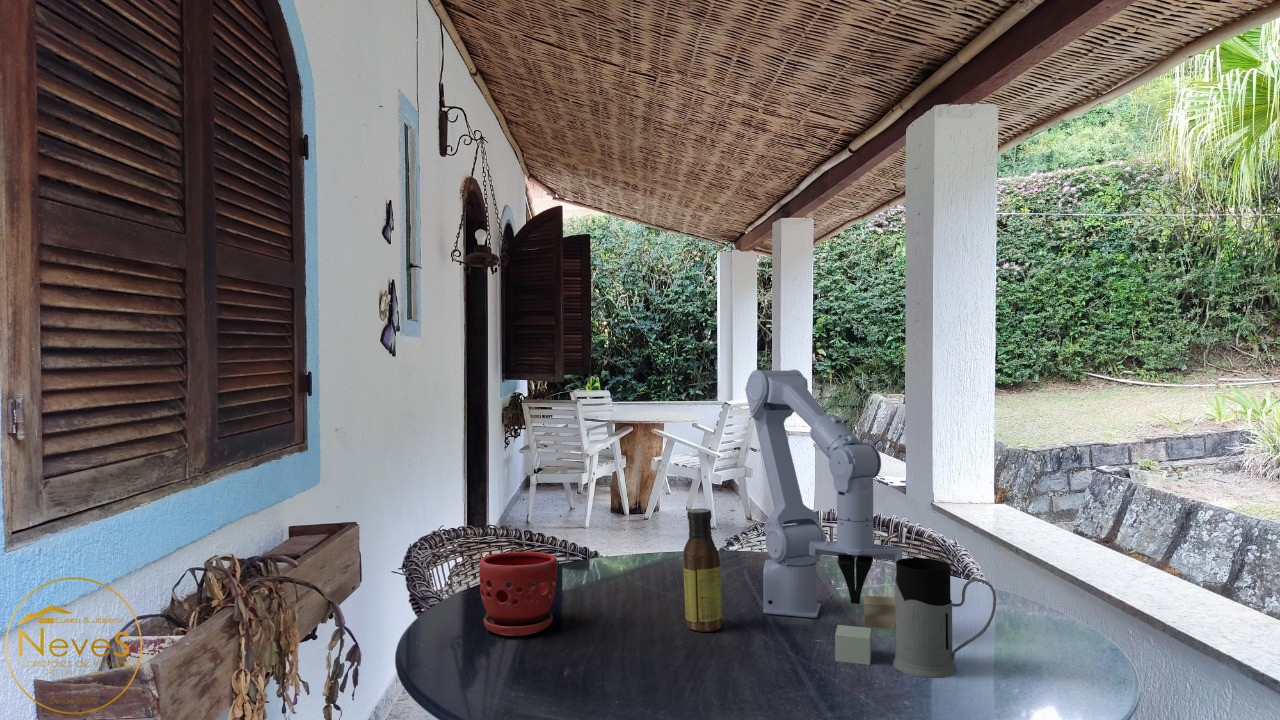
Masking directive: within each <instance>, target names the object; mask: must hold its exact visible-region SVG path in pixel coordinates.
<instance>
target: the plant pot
mask: <svg viewBox="0 0 1280 720" xmlns="http://www.w3.org/2000/svg"><path fill="white" fill-rule="evenodd" d="M478 567H479V569H478V570H479V573H478V575H479V591H480V596H481V601H482V604H483V607H484V609H485V612H486V613H487V615H484V616H485V617H484V618H483V624H484V626H485V627H486V629H487V630H489V631H490V632H492V633H493V634H497V635H500V636H507V637H520V638H521V637H525V636H528V635H533V634H536V633H539V632H542V631H543V630H546V629H547V628H548V627H549V626H550V625H551V624H552V621H553V618H554V617H553V616H554V615H553V614H552V613H551V611H550V609H551V607H552V605H553V602H554V598H555V594H556V589H557V588H556V587H557V579H558V559H557V557H556V556H555V555H553V554H550V553H546V552H537V551H511V552H501V553H497V554H491V555H487V556H484V557H482V558H481V559H480V560H479V565H478ZM531 582H534V586H532V585H531ZM507 583H510V584H511V585H510V586H509V587H508V586H507Z"/></svg>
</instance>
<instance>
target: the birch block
mask: <svg viewBox="0 0 1280 720" xmlns="http://www.w3.org/2000/svg"><path fill="white" fill-rule="evenodd" d="M863 602H864V603H863V605H864V607H863V608H864V609H863V610H864V611H863V612H864V627H865V628H879V629H890V630H896V629H895V622H896V613H895V597H889V596H874V595H864V601H863Z"/></svg>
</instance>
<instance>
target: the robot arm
mask: <svg viewBox="0 0 1280 720" xmlns="http://www.w3.org/2000/svg"><path fill="white" fill-rule="evenodd" d="M808 387H809V386H808V379H807V378H806V377H805V376H804V375H803V373H802V372H801V371H800V370H798V369H790V370H788V369H787V370H761V369H756V370H752V372H751V373H750V374H749V376H748V378H747V381H746V385H745V387H744V389H745V391H744V392H745V395H746V399H747V404H748V408H749V412H750V416H751V417H752V419H753V420H754V425H755V430H756V434H757V438H758V442H759V447H760V451H761V457H762V460H763V464H764V469H765V473H766V478H767V481H768V486H769V490H770V496H771V498H772V504H773V507H774V510H773V512H772V513H771V514H770V515H769V516H768V517H767V519H766V520H765V522H764V528H765V547H766V551H767V554H768V555H769V557H770V558H771V559H765V561H764V565H763V577H762V579H763V580H762V584H763V586H762V587H763V589H762V590H763V591H762V592H763V596H762V597H763V606H762V607H763V610H762V613H763V614H766V615H767V614H768V615H778V616H787V617H788V616H789V617H790V616H791V617H800V618H812V619H813V618H814V619H815V618H818V616H819V612H820V609H821V608H822V607H821V606H822V605H821V602H820V603H819V602H817V599H818V598H817V597H818V593H817V592H818V591H817V586H818V585H817V584H818V583H817V562H820V561H821V556H828V557H837V564H838V567H839V569H840V571H841V573H842V575H843V578H844V580H845V583H846V586H847V590H848V593H849V599H850V604H853V605H860V604H861V595H862V591H863V587H864V584H865V581H866V579H867V576H868V574H869V572H870V570H871V568H872V566H873V565H872V564H873V560H886V561H894V562H896V561H898V560H900V559H903V546H902V547H901V546H892V545H885V544H878V543H874V478H877V477H878V476H879V474H880V471H881V470H882V458H881V455H880V452H879V451H878V449H877V448H876V446H875V445H874V443H871V442H864V441H863V440H859V439H858V437H857V436H856V434H853V432H852V431H851V430H850V429H849V428H848V427H847V426H846V425H845V424H844V423H843V419H842V417H840V416H839V415H835V414H827V413H826V412H825V410H824V409H823V407H821V405H820V404H819V402H818V401H817V399H815V397H814V396H813V394H812V393H811V392H810V391H809V389H808ZM793 413H796V414H797V415H798V416H799V417H800V418H801V419H802V420H803V422H805V423H806V424H807V425H808V427H810V432H809V435H810V438H811V440H812V441H813V442H814V443H815V444H816V445H817V446H818V448H819V449H820V450H821V451H822V452H823V454H824V455H825V456H826V457H827V458H828V467H829V471H830V474H831V476H832V478H833V479H832V480H833V487H834V490H835V491H836V537H837V538H836V541H827V535H826V532H825V530H824V528H823V527H822V525H821V523H820V521H819V518H818V514H817V513H816V512H814V510H812V509H810V508H809V507H808V506H806V504H804V501H803V496H802V493H801V489H800V484H799V481H798V476H797V473H796V469H795V464H794V462H793V461H794V460H793V456H792V452H791V447H790V443H789V440H788V436H787V432H786V427H785V421H786V420H787V419H788V418H789V417H791V416H792V415H793Z"/></svg>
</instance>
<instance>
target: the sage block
mask: <svg viewBox="0 0 1280 720" xmlns="http://www.w3.org/2000/svg"><path fill="white" fill-rule="evenodd" d="M834 653H835V654H834V657H835V658H834V659H835V660H834V661H835V662H839V663H850V664H861V665H869V666H870V665H871V659H872V627H865V626H863V627H862V626H852V625H842V624H837V626H836V630H835V635H834Z"/></svg>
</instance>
